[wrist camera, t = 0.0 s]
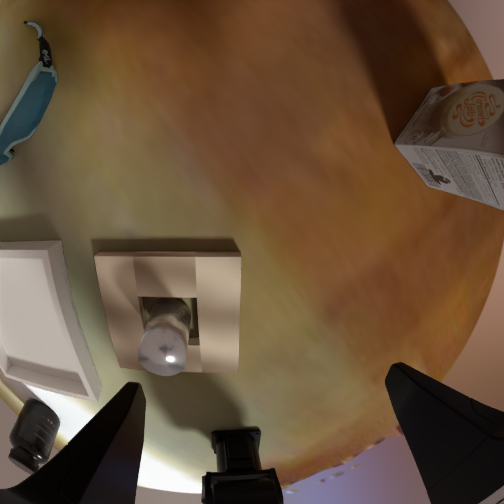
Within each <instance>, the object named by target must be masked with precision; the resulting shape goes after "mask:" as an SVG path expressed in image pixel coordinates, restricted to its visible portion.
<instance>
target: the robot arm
mask: <svg viewBox="0 0 504 504" xmlns="http://www.w3.org/2000/svg"><path fill="white" fill-rule="evenodd" d="M385 385H386V388H387V391H388V394H389V397H390V400H391V403H392V406H393V409H394V412H395V415H396V417H397V420H398V422H399V424H400V426H401V429H402V431H403V433H404V436H405V438H406V440H407V442H408V445H409V447H410V450H411V452H412V454H413V457H414V459H415V462H416V465H417V467H418V469H419V472H420V475H421V477H422V480H423V482H424V485H425V488H426V490H427V494H428V496H429V499H430V502H431V504H504V412H503V411H500V410H497V409H495V408H492V407H490V406H487V405H485V404H482V403H480V402H478V401H476V400H474V399H472V398H469V397H468V396H466V395H464V394H462V393H460V392H458V391H456V390H454V389H452V388H450V387H448V386H446V385H444V384H442V383H441V382H439V381H437V380H435V379H433V378H431V377H429V376H427V375H425V374H423V373H421V372H420V371H418V370H416V369H414V368H412V367H410V366H408V365H406V364H404V363H402V362H399V363H395V364H392V365H391V367H390V369H389V372H388V374H387V376H386V378H385ZM145 410H146V399H145V395H144V392H143V389H142V386H141V384H140V383H138V382H128V383H126V384H125V385H124V386H123V387H122V388H121V389H120V391H119V392H118V393H117V394H116V395H115V396H114V397H113V398H112V399H111V400H110V401H109V402H108V403H107V404H106V405H105V406H104V407H103V408H102V409H101V410H100V411H99V412H98V413H97V414H96V415H95V416H94V417H93V418H92V419H91V420H90V421H89V422H88V423H87V424H86V425H85V426H84V427H83V428H82V429H81V430H80V431H79V432H78V433H77V434H76V435H75V436H74V437H73V438H72V439H71V440H70V441H69V442H68V445H65V446H64V447H63V448H62V449H61V450H60V451H59V452H58V453H57V454H56V455H55V456H54V457H53V458H52V459H51V460H50V461H49V462H47V463H46V464H45V465H44V466H42V467H41V468H40V469H38V470H37V471H36V472H34V473H33V474H32V475H30V476H29V477H28V478H27V479H25V480H24V481H22V482H21V483H19V484H18V485H16V486H14V487H11V488H7V489H0V504H135V496H136V488H137V481H138V474H139V468H140V461H141V455H142V449H143V442H144V426H145ZM260 437H261V430H259V429H256V430H240V431H213V432H212V441H213V448H214V453H215V454H216V455H217V472H206V475H205V476H202V499H201V500H202V503H203V504H283V494H282V490H281V486H280V483H279V480H278V477H277V474H276V471H275V468H270V469H266V470H262V468H261V463H260V457H259V451H258V450H259V444H260Z"/></svg>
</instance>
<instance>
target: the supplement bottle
mask: <svg viewBox="0 0 504 504" xmlns="http://www.w3.org/2000/svg"><path fill="white" fill-rule="evenodd" d="M59 427H60V420H59V418H58V416H57V415H56V414H55V413H54V412H53V411H52V410H51V409H50V408H49V407H47V406H46V405H44V404H43V403H41V402H39V401H37V400H33V399H29V400H27V401H26V402H25V404H24V406H23V408H22V410H21V412H20V414H19V416H18V418H17V420H16V423H15V424H14V427H13V429H12V431H11V433H10V442H11V444H12V446H13V448H11V450H10V454H9V459H10V461H12V462H13V463H14V464H15V465H16V466H18V467H19V468H21V469H22V470H24V471H25V472H28V473H29V474H31V475H32V474H33V473H34V472H36V471H37V470H38V469H39V465H38V464H45V463H46V462H47V461H48V459H49V456H50V453H51V450H52V447H53V444H54V441H55V438H56V435H57V432H58V429H59Z"/></svg>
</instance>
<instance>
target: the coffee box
mask: <svg viewBox="0 0 504 504" xmlns="http://www.w3.org/2000/svg"><path fill="white" fill-rule="evenodd" d="M394 145H395V146H396V148H397V149H398V150H399V151H400V152H401V154H402V155H403V156H404V157H405V158H406V160H407V161H408V162H409V163H410V164H411V166H412V167H413V168H414V169H415V171H416V172H417V173H418V174H419V176H420V177H421V178H422V180H423V181H424V182H425V184H426V185H427V186H428V187H431V188H435V189H439V190H443V191H446V192H449V193H453V194H456V195H459V196H463V197H466V198H469V199H472V200H475V201H479V202H482V203H485V204H487V205H490V206H493V207H496V208H499V209H501V210H504V79H501V80H486V81H476V82H468V83H460V84H453V85H446V86H440V87H435V88H432V89H431V90H430V92H429V93H428V95H427V96H426V98H425V99H424V101H423V102H422V104H421V105H420V107H419V108H418V110H417V111H416V112H415V114H414V115H413V117H412V118H411V120H410V121H409V123H408V124H407V125H406V127H405V128H404V130H403V131H402V133H401V134H400V135H399V137H398V138H397V140H396V141H395V143H394Z"/></svg>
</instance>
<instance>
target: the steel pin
mask: <svg viewBox="0 0 504 504" xmlns="http://www.w3.org/2000/svg"><path fill="white" fill-rule="evenodd" d="M190 323H191V312H190V309H189V308H188V306H187V305H186V304H185V303H184V302H182V301H181V300H179V299H176V298H171V297H167V298H162V299H160V300H158V301H157V302H156V303H155V304H154V306H153V309H152V311H151V314H150V317H149V319H148V322H147V325H146V328H145V331H144V334H143V336H142V339H141V342H140V345H139V348H138V352H137V356H138V360H139V362H140V363H141V365H142V366H143V367H144V368H145V369H147V370H148V371H150V372H152V373H154V374H156V375H160V376H172V375H176V374H178V373H180V372H181V371H182V370H183V369H184V367H185V365H186V357H187V348H188V339H189V331H190Z"/></svg>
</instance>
